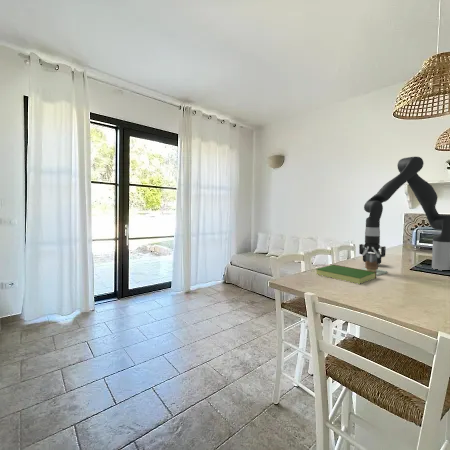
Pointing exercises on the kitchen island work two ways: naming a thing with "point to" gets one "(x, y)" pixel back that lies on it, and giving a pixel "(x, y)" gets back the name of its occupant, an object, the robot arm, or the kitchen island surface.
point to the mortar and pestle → (369, 256)
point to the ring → (371, 265)
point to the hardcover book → (346, 273)
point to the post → (378, 272)
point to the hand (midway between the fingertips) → (371, 262)
